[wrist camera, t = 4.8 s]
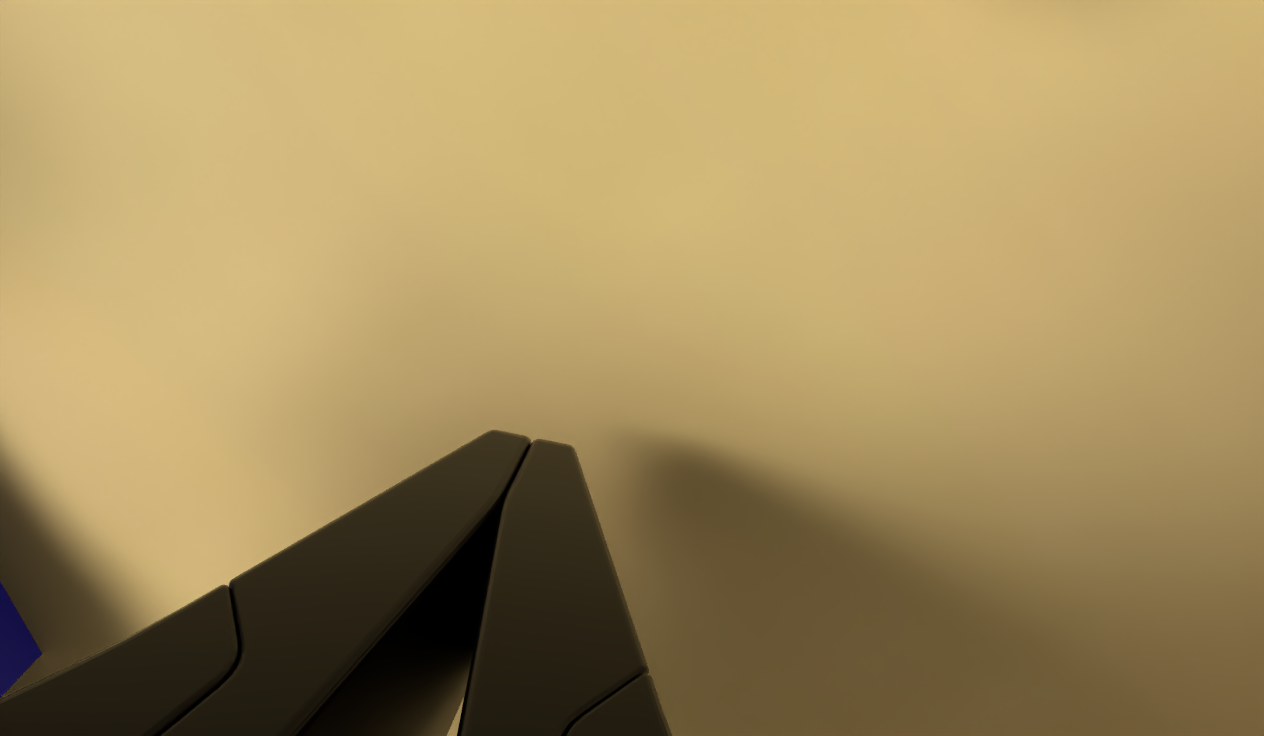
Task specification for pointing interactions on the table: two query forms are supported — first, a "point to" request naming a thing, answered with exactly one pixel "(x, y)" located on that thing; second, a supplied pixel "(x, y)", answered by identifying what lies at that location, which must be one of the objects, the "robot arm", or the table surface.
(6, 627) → the blue notched block
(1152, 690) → the table surface
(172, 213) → the table surface
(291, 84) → the table surface
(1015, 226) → the table surface
